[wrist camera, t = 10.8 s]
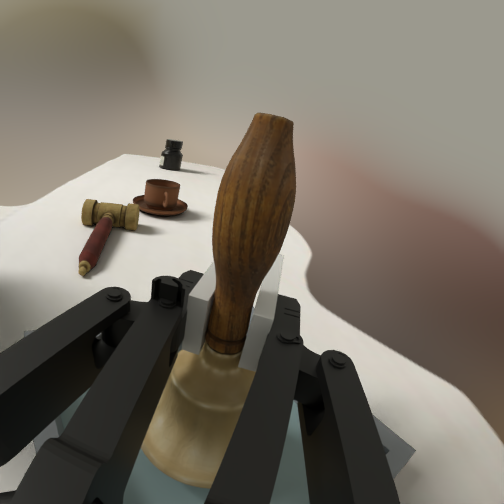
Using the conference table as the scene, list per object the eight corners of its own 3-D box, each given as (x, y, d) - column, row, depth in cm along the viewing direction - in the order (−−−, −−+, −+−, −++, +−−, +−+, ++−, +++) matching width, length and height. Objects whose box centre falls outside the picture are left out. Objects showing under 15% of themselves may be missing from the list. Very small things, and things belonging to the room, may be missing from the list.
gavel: (120, 261, 30) (43, 252, 27) (120, 293, 32) (48, 284, 29) (140, 201, 48) (88, 195, 45) (138, 224, 50) (87, 219, 47)
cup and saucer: (197, 218, 61) (202, 190, 58) (147, 222, 52) (151, 190, 50) (168, 201, 68) (172, 177, 65) (123, 204, 59) (126, 176, 56)
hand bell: (118, 468, 10) (99, 73, 4) (154, 366, 18) (186, 108, 12) (279, 495, 11) (469, 171, 5) (272, 389, 18) (356, 149, 13)
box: (35, 368, 17) (24, 331, 15) (238, 333, 29) (247, 301, 27) (134, 618, 3) (124, 629, 1) (385, 476, 15) (415, 450, 13)
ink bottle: (164, 165, 118) (169, 138, 113) (182, 169, 118) (188, 142, 113) (155, 167, 109) (160, 138, 104) (175, 171, 109) (181, 142, 104)
